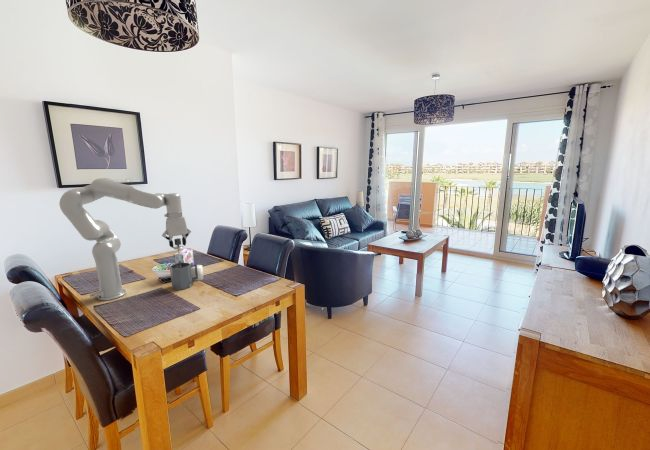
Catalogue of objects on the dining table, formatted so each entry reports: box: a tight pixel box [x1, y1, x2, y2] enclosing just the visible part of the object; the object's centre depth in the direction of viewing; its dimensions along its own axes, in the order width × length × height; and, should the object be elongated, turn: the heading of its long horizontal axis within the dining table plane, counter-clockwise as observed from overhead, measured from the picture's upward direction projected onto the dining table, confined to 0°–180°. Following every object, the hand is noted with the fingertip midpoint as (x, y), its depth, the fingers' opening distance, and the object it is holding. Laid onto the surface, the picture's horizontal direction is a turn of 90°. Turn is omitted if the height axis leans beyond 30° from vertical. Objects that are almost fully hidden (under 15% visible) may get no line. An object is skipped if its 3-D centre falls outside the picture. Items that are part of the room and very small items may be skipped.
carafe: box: [169, 263, 198, 291], centre depth 169 cm, size 14×10×13 cm
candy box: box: [173, 247, 195, 265], centre depth 186 cm, size 14×6×16 cm, turn 179°
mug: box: [191, 264, 204, 282], centre depth 181 cm, size 7×9×8 cm
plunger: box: [173, 237, 184, 268], centre depth 165 cm, size 8×8×20 cm
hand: (178, 245), depth 164 cm, fingers open, 5 cm apart
